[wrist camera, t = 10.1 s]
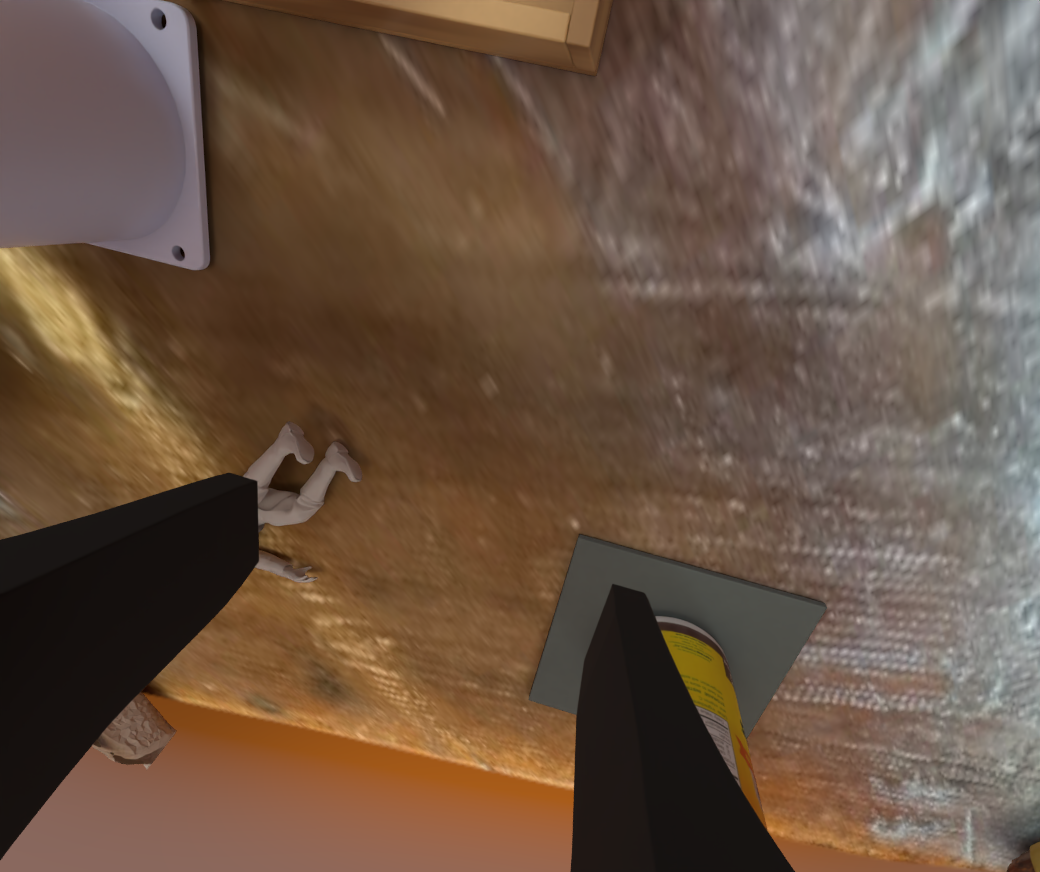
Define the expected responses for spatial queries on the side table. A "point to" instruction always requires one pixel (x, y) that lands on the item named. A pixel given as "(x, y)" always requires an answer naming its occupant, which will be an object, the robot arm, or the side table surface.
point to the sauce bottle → (1027, 861)
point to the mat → (683, 595)
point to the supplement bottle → (713, 697)
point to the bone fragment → (135, 734)
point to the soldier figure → (290, 505)
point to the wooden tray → (476, 25)
